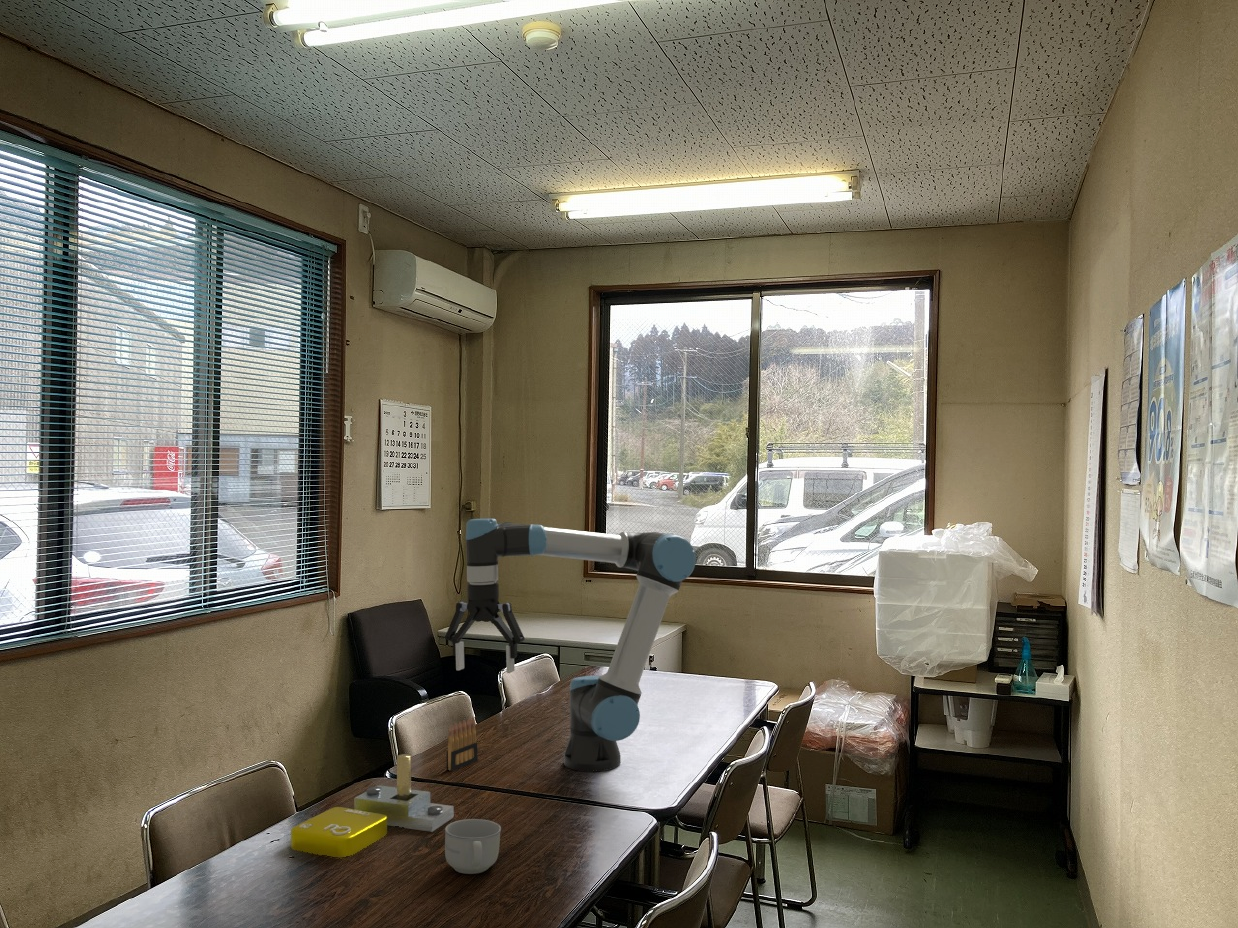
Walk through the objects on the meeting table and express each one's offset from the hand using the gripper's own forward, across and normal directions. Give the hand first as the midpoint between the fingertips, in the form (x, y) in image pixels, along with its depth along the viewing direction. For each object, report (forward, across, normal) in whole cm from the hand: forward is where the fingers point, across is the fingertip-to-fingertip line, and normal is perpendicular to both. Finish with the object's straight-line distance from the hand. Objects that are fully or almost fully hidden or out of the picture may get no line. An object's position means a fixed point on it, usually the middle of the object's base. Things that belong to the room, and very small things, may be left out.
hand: (485, 670), depth 220 cm
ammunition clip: (+30, +17, -18) cm, 39 cm away
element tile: (+30, +17, +35) cm, 49 cm away
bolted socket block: (+29, +10, +20) cm, 37 cm away
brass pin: (+29, +10, +20) cm, 37 cm away
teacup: (+30, -17, +40) cm, 52 cm away
